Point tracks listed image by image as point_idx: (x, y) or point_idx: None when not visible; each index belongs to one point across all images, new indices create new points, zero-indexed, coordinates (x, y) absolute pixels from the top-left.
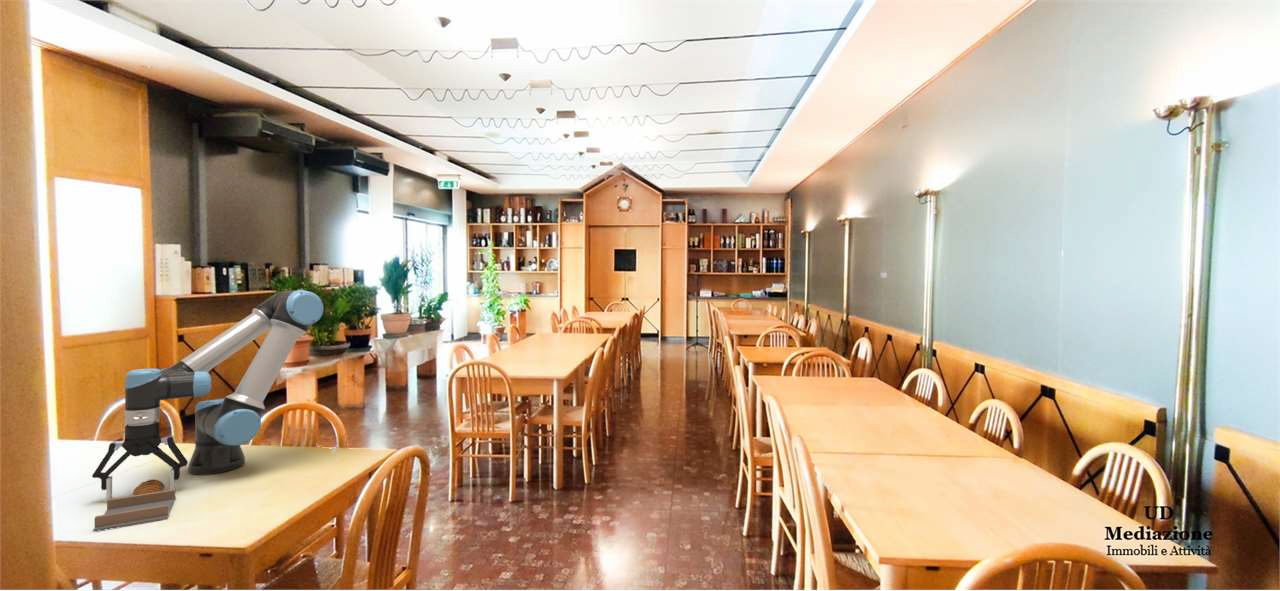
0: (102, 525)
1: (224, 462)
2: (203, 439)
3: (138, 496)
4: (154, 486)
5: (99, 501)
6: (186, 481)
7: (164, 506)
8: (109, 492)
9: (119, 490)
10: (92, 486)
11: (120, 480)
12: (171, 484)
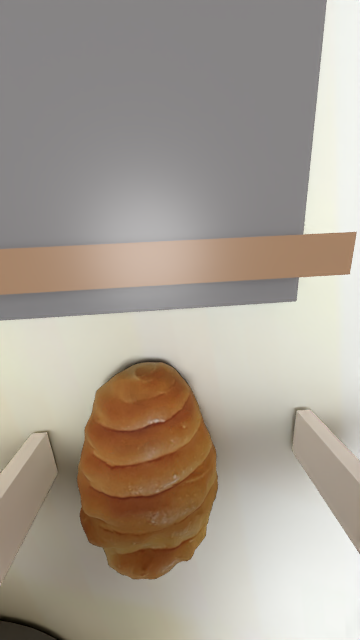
0: None
1: None
2: None
3: (137, 243)
4: (101, 472)
5: None
6: (38, 564)
7: None
8: (336, 453)
9: (274, 543)
10: (355, 604)
11: (283, 631)
12: (7, 481)
